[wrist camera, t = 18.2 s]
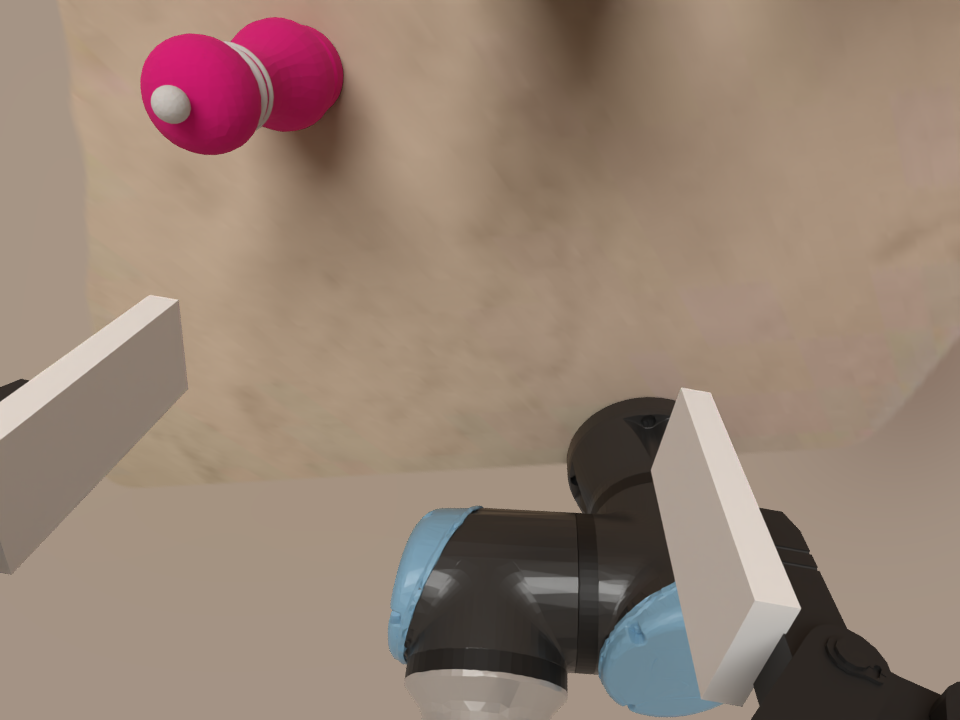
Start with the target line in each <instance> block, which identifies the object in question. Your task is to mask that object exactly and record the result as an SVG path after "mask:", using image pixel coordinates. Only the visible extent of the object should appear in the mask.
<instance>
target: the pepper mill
mask: <svg viewBox="0 0 960 720" xmlns="http://www.w3.org/2000/svg"><path fill="white" fill-rule="evenodd" d="M342 84H343V68H342V64H341V60H340V57H339V55H338V53H337V51H336V49H335V47H334V46H333V45H332V43H331V42H330V41H329V40H328V38H327V37H325V36H324V35H323V34H322V33H320V32H319V31H317V30H316V29H314V28H311V27H309V26H305V25H300V24H298V23H296V22H294V21H292V20H288V19H285V18H277V17H273V18H265V19H262V20H258V21H255V22H252V23H250V24H248V25H247V26H245V27H244V28H243V29H242V30H240V31H239V32H238V33H237V35H236V36H235V37H234V38H233V39H232V41H231V42H226V41H220V40H218V39H216V38H214V37H210V36H206V35H200V34H183V35H178V36H174V37H171V38H169V39H167V40H165V41H163V42H162V43H160V44H159V45H157V46H156V47H155V48H154V50H153V51H152V52H151V53H150V54H149V56H148V58H147V59H146V61H145V63H144V66H143V69H142V74H141V94H142V100H143V103H144V106H145V109H146V111H147V113H148V115H149V117H150V119H151V121H152V122H153V124H154V125H155V126H156V128H157V129H158V130H159V131H160V132H161V133H162V134H163V136H164V137H166V138H167V139H168V140H170V141H171V142H172V143H173V144H175V145H177V146H179V147H181V148H183V149H186V150H188V151H191V152H193V153H198V154H204V155H218V154H224V153H227V152H230V151H232V150H235V149H237V148H239V147H241V146H242V145H243V144H245V143H246V142H247V141H248V140H249V139H250V137H251V136H252V135H253V134H254V132H255V130H257V129H259V128H260V127H262V126H263V127H266V128H269V129H272V130H276V131H282V132H286V131H296V130H300V129H304V128H307V127H309V126H311V125H313V124H315V123H316V122H317V121H318V120H319V119H321V118H322V116H323V115H324V114H325V112H326V111H327V110H328V109H329V108H330V107H331V106H332V105H333V104H334V103H335V101H336V100H337V99H338V97H339V94H340V92H341V89H342Z"/></svg>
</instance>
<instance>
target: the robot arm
mask: <svg viewBox="0 0 960 720" xmlns="http://www.w3.org/2000/svg"><path fill="white" fill-rule="evenodd" d="M187 389H188V383H187V374H186V364H185V355H184V345H183V336H182V327H181V317H180V308H179V300H176V299H170V298H165V297H159V296H153V295H149V296H147V297H146V298H145V299H143V300H142V301H140V302H139V303H138V304H136V305H135V306H133V307H132V308H131V309H129V310H128V311H126V312H125V313H124V314H122V315H121V316H119V317H118V318H117V319H115V320H114V321H112V322H111V323H110V324H108V325H107V326H106V327H104V328H103V329H101V330H100V331H99V332H97V333H96V334H94V335H93V336H92V337H90V338H89V339H87V340H86V341H85V342H83V343H82V344H80V345H79V346H78V347H76V348H75V349H73V350H72V351H71V352H69V353H68V354H66V355H65V356H64V357H62V358H61V359H59V360H58V361H57V362H55V363H54V364H52V365H51V366H50V367H48V368H47V369H45V370H44V371H43V372H41V373H40V374H39V375H37V376H36V377H34V378H33V379H32V380H30V381H29V380H23V379H20V380H17V381H15V382H12V383H10V384H8V385H5V386H2V387H0V573H5V574H10V575H11V574H13V573H14V571H15V570H16V569H17V568H18V567H19V566H20V565H21V564H22V563H23V562H24V561H25V560H26V559H27V558H28V557H29V556H30V554H32V553H33V551H34V550H35V549H36V548H37V547H38V546H39V545H40V544H41V543H42V542H43V541H44V540H45V539H46V538H47V537H48V536H49V535H50V534H51V533H52V531H53V530H54V529H55V528H56V527H57V526H58V525H59V524H60V523H61V522H62V521H63V520H64V519H65V518H66V517H67V516H68V515H69V514H70V513H71V511H72V510H73V509H74V508H75V507H76V506H77V505H78V504H79V503H80V502H81V501H82V500H83V499H84V498H85V497H86V496H87V495H88V494H89V493H90V492H91V490H92V489H93V488H94V487H95V486H96V485H97V484H98V483H99V482H100V481H101V480H102V479H103V478H104V477H105V476H106V475H107V474H108V473H109V472H110V470H111V469H112V468H113V467H114V466H115V465H116V464H117V463H118V462H119V461H120V460H121V459H122V458H123V457H124V456H125V455H126V454H127V453H128V452H129V450H130V449H131V448H132V447H133V446H134V445H135V444H136V443H137V442H138V441H139V440H140V439H141V438H142V437H143V436H144V435H145V434H146V433H147V432H148V431H149V429H150V428H151V427H152V426H153V425H154V424H155V423H156V422H157V421H158V420H159V419H160V418H161V417H162V416H163V415H164V414H165V413H166V412H167V411H168V409H169V408H170V407H171V406H172V405H173V404H174V403H175V402H176V401H177V400H178V399H179V398H180V397H181V396H182V395H183V394H184V393H185V392H186V391H187ZM567 470H568V482H569V486H570V490H571V492H572V495H573V497H574V499H575V501H576V502H577V504H578V506H579V508H580V510H581V511H582V513H566V512H547V511H529V510H510V509H492V508H483V507H482V506H473V507H470V508H442V509H436V510H433V511H431V512H429V513H428V514H426V515H425V516H424V517H423V518H422V519H421V520H420V521H419V522H418V524H416V526H415V528H414V529H413V531H412V533H411V535H410V537H409V539H408V541H407V544H406V546H405V549H404V552H403V555H402V558H401V561H400V565H399V568H398V571H397V575H396V579H395V584H394V588H393V593H392V598H391V609H392V612H391V616H390V620H389V626H388V644H389V649H390V652H391V654H392V655H393V657H394V658H395V659H397V660H399V661H400V662H401V663H402V664H407V668H406V676H405V683H404V686H405V688H406V689H407V691H408V692H409V694H410V695H411V697H412V698H413V700H414V701H415V703H416V704H417V706H418V707H419V709H420V712H421V715H422V720H550V718H551V717H552V716H553V715H554V714H555V713H556V712H557V711H558V710H559V709H560V708H561V706H563V705H564V703H565V702H566V701H567V673H583V674H594V675H599V678H600V679H601V682H602V684H603V685H604V687H605V689H606V691H607V693H608V694H609V696H610V697H611V698H612V699H613V700H614V701H615V702H616V703H618V704H619V705H621V706H625V705H628V708H629V709H630V710H631V711H633V712H635V713H639V714H643V715H647V716H654V717H678V716H686V715H692V714H696V713H700V712H703V711H707V710H710V709H712V708H714V707H717V706H719V705H722V704H730V705H736V706H741V707H742V706H743V704H744V703H745V701H746V699H747V698H748V696H749V694H750V693H751V691H752V689H753V688H754V689H755V692H756V696H757V699H758V702H759V705H760V707H759V708H758V710H757V711H756V713H755V714H754V716H753V717H752V719H751V720H960V682H956V683H954V684H953V685H951V686H949V687H948V688H947V689H946V690H945V691H944V693H943V694H942V695H940V694H938V693H935V692H933V691H931V690H929V689H926V688H924V687H922V686H920V685H917V684H915V683H913V682H910V681H908V680H906V679H904V678H901V677H899V676H897V675H896V674H894V673H892V672H891V671H890V669H889V667H888V664H887V662H886V661H885V660H884V658H883V657H882V656H881V654H880V653H879V652H878V651H877V649H876V648H875V647H873V646H872V645H871V644H870V643H869V642H867V641H866V640H865V639H864V638H863V637H861V636H859V635H857V634H855V633H854V632H852V631H850V630H848V629H847V627H846V625H845V623H844V621H843V619H842V617H841V615H840V613H839V611H838V609H837V607H836V605H835V602H834V600H833V598H832V596H831V594H830V592H829V590H828V588H827V586H826V584H825V582H824V580H823V578H822V575H821V573H820V572H819V571H817V565H816V563H815V561H814V559H813V557H812V555H810V554H809V552H810V550H809V548H808V546H807V544H806V542H805V540H804V538H803V536H802V534H801V532H800V530H799V529H798V528H797V527H796V526H795V525H794V524H793V523H792V522H791V521H790V520H789V519H788V518H787V516H786V515H785V514H784V513H783V512H780V511H774V510H769V509H763V508H759V507H758V505H757V502H756V500H755V497H754V495H753V493H752V491H751V488H750V486H749V483H748V481H747V478H746V476H745V474H744V471H743V469H742V466H741V464H740V462H739V459H738V457H737V455H736V452H735V450H734V447H733V445H732V443H731V440H730V438H729V436H728V433H727V431H726V428H725V426H724V424H723V421H722V419H721V416H720V414H719V412H718V409H717V407H716V405H715V402H714V400H713V397H712V395H711V393H710V392H704V391H698V390H692V389H687V388H680V391H679V394H678V397H677V400H676V401H674V400H670V399H664V398H655V397H645V398H634V399H629V400H625V401H621V402H618V403H615V404H612V405H610V406H608V407H606V408H604V409H602V410H600V411H598V412H597V413H595V414H594V415H593V416H591V417H590V418H589V419H588V420H587V421H585V422H584V423H583V425H582V426H581V427H580V428H579V429H578V431H577V432H576V434H575V435H574V437H573V439H572V441H571V443H570V446H569V450H568V455H567Z"/></svg>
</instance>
